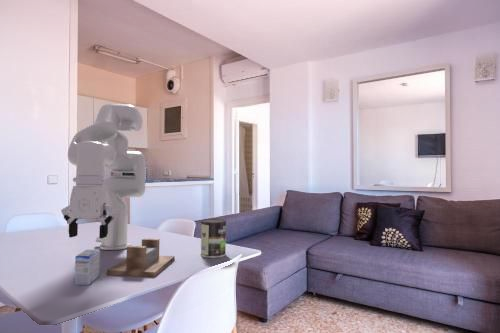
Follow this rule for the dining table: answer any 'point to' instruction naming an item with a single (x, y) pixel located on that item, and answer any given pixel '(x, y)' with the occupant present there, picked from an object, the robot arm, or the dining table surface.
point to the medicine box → (87, 267)
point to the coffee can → (213, 238)
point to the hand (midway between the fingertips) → (88, 237)
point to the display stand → (142, 260)
